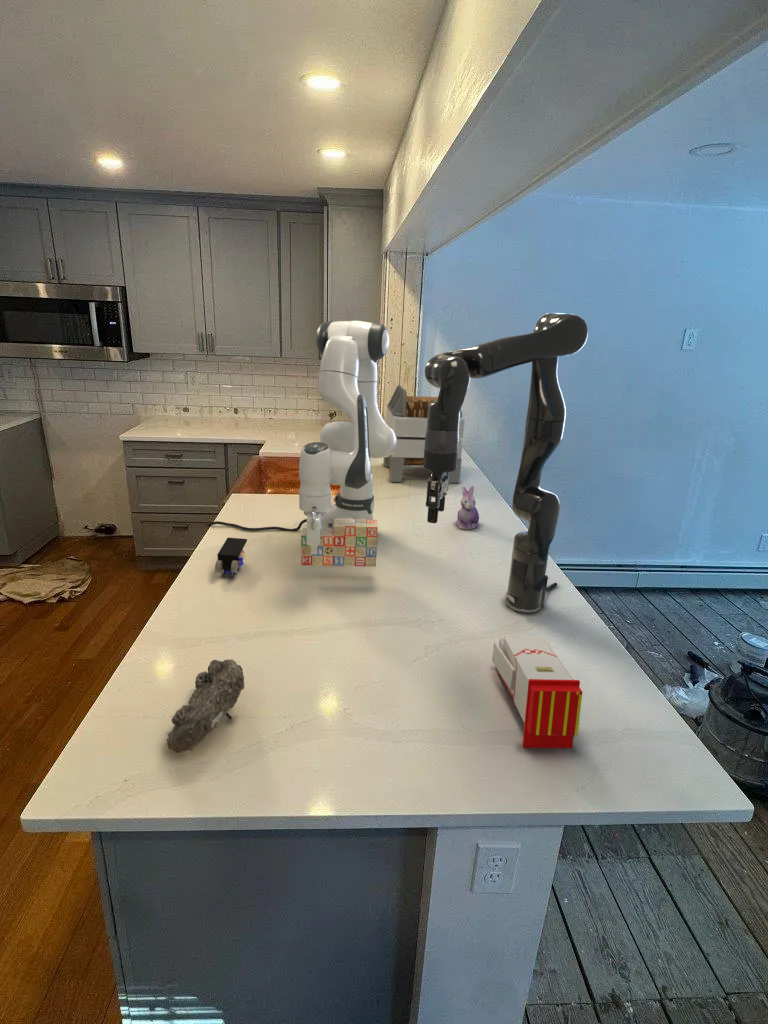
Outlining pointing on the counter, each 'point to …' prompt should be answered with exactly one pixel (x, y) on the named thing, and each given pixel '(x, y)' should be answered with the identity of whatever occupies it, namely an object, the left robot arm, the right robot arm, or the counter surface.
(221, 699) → the fossil
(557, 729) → the toy
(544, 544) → the right robot arm
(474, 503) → the figurine
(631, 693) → the counter surface
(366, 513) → the left robot arm
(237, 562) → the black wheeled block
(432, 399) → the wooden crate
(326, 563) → the stack of blocks
